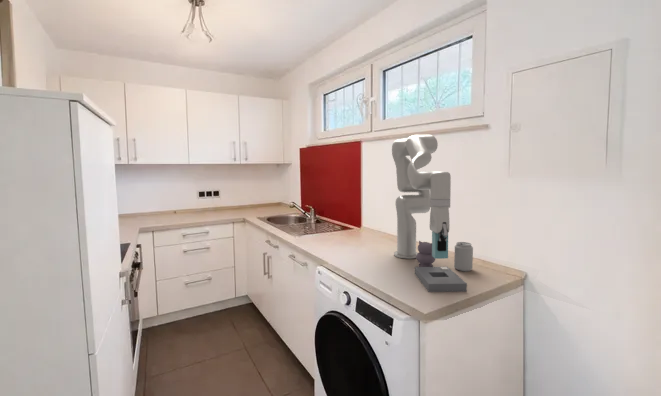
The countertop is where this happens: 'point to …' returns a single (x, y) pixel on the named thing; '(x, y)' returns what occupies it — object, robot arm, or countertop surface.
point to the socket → (440, 279)
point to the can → (463, 256)
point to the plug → (435, 252)
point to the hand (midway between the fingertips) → (439, 249)
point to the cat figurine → (425, 254)
